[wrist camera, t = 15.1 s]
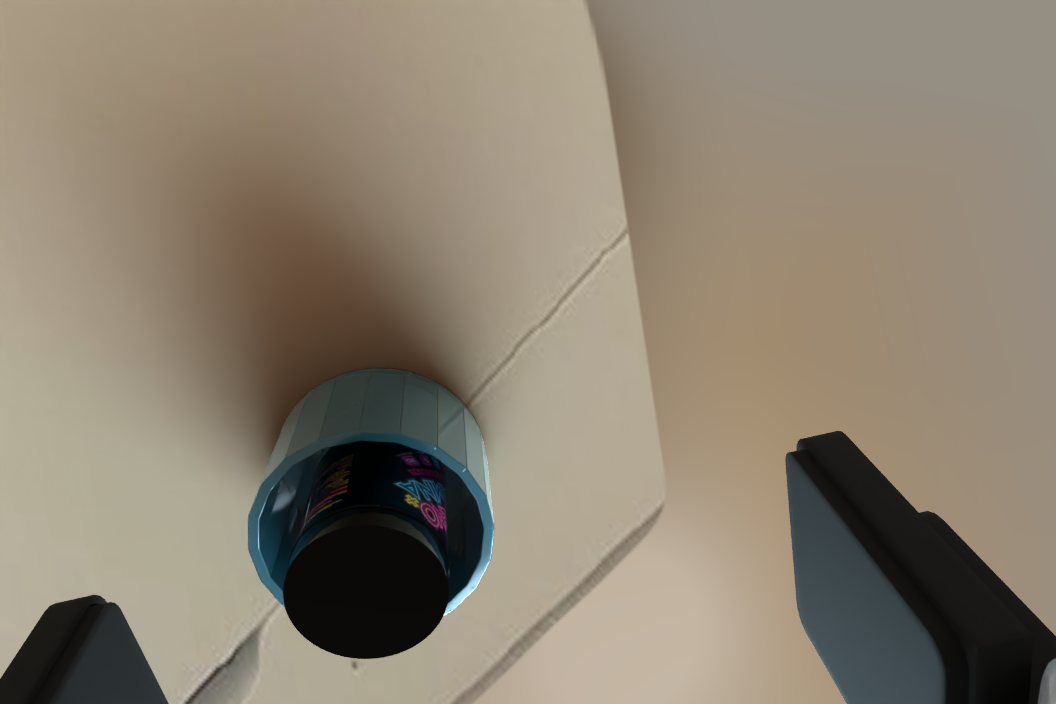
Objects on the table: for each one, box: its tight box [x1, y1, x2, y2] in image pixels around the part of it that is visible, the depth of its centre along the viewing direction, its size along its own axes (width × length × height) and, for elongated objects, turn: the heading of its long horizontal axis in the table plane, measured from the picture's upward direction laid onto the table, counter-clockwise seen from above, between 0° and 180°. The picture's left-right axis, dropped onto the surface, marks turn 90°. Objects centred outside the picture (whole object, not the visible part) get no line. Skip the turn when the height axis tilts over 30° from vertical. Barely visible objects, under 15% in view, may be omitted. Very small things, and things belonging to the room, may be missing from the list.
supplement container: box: [283, 441, 449, 659], centre depth 38 cm, size 7×7×10 cm
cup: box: [248, 368, 495, 616], centre depth 40 cm, size 11×11×7 cm
